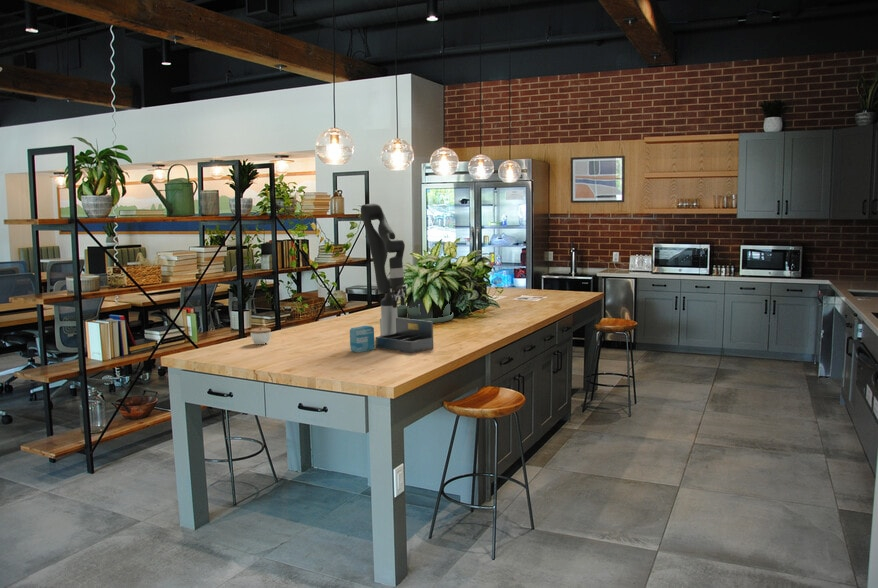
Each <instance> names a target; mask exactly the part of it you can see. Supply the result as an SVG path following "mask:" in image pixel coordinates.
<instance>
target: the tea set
mask: <svg viewBox="0 0 878 588" xmlns="http://www.w3.org/2000/svg"><path fill="white" fill-rule="evenodd" d="M406 304H407V303H405V305H404V306H401V303H400V304H398V305H397V312H398V318H404V319H410V318H408V317H407V313H408V314H409V315H412V316H414V317H415V316H417V315H418V314H419V316H420V315H421V312H420V304H418V308H417V307H416V306H415V307H412V308H409V306H408V307H407V306H406ZM407 308H408V309H407ZM450 312H451V303H450V304H449V303H448V304H447V305H446V306H445V308H444V310H443V314H442V315H443V317H438V318H422V319H413V320H423V321H432V322H433V324H437V323H445V322H448V321H452V319H454V312H452V314H451V315H450Z"/></svg>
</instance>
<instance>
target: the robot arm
mask: <svg viewBox="0 0 878 588" xmlns="http://www.w3.org/2000/svg"><path fill="white" fill-rule="evenodd" d="M360 215H361V219H362V222H363V225H364V228H365V232H366V236H367V240H368V244H369V245H368V247H369V250H370V255H371V258H372V262H373V267H374V273H375V282H376V286H377V290H378V292H380V294H384V295H385V296H384V297H383V298H382V299H381V300H380V318H379V327H380V328H379V329H380V330H379V331H380V334H379V335H380V336H384V335H389V334H393V333H396V318H398V312H397V306H398V302H399V301H398V300H399V299H400V304H401V306H404V305H405V304H406V301H405V299H406V298H407V297H408V295H407V286H406V285H405V274H404V273H405V272H404V265H403V264H404V263H403V258H404V253H405V249H406V248H405V247H406V246H405V241H404V240H403V239H402V238H396V234H395V232H394V231H393V229H392V228H391V226H390V224H389V223H388V220H387V218H386V215H385V214H384V211H383V209H382V207H381V205H380V204H379V203H378V202H376V203H375V202H374V203H367V204H362V205H361V206H360ZM377 220H378V221H379V224H378V227H377V230H376V229H375V227H374V225H373V223H372V221H377ZM391 253H392V254H394V253H396V254H395V255H394V256H392V257H390V258H389V264H388V265H389V276H387V273H386V262H387V259H388V254H391Z"/></svg>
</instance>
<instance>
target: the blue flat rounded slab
mask: <svg viewBox="0 0 878 588" xmlns="http://www.w3.org/2000/svg"><path fill="white" fill-rule="evenodd" d="M349 344H350V346H349V349H350V351H351V352H353V353H358V354H359V353H362V352H363V353H364V352H369V351H372V350H374V349H375V348H376V345H375V329H374V327H373V326H371V325H362V326H355V327H351V328H350V329H349Z"/></svg>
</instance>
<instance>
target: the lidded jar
mask: <svg viewBox="0 0 878 588" xmlns="http://www.w3.org/2000/svg"><path fill="white" fill-rule="evenodd" d="M249 332H250V337H251V340H252V342H253V343H254V344H255V345H256V344H264V343H267V344H268V343H269V341H270V340H271V337H272V336H271V335H272V333H271V332H272V329H271V328H268V327H262V326H259V327H258V328H252V329H250V330H249ZM264 345H265V344H264Z"/></svg>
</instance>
